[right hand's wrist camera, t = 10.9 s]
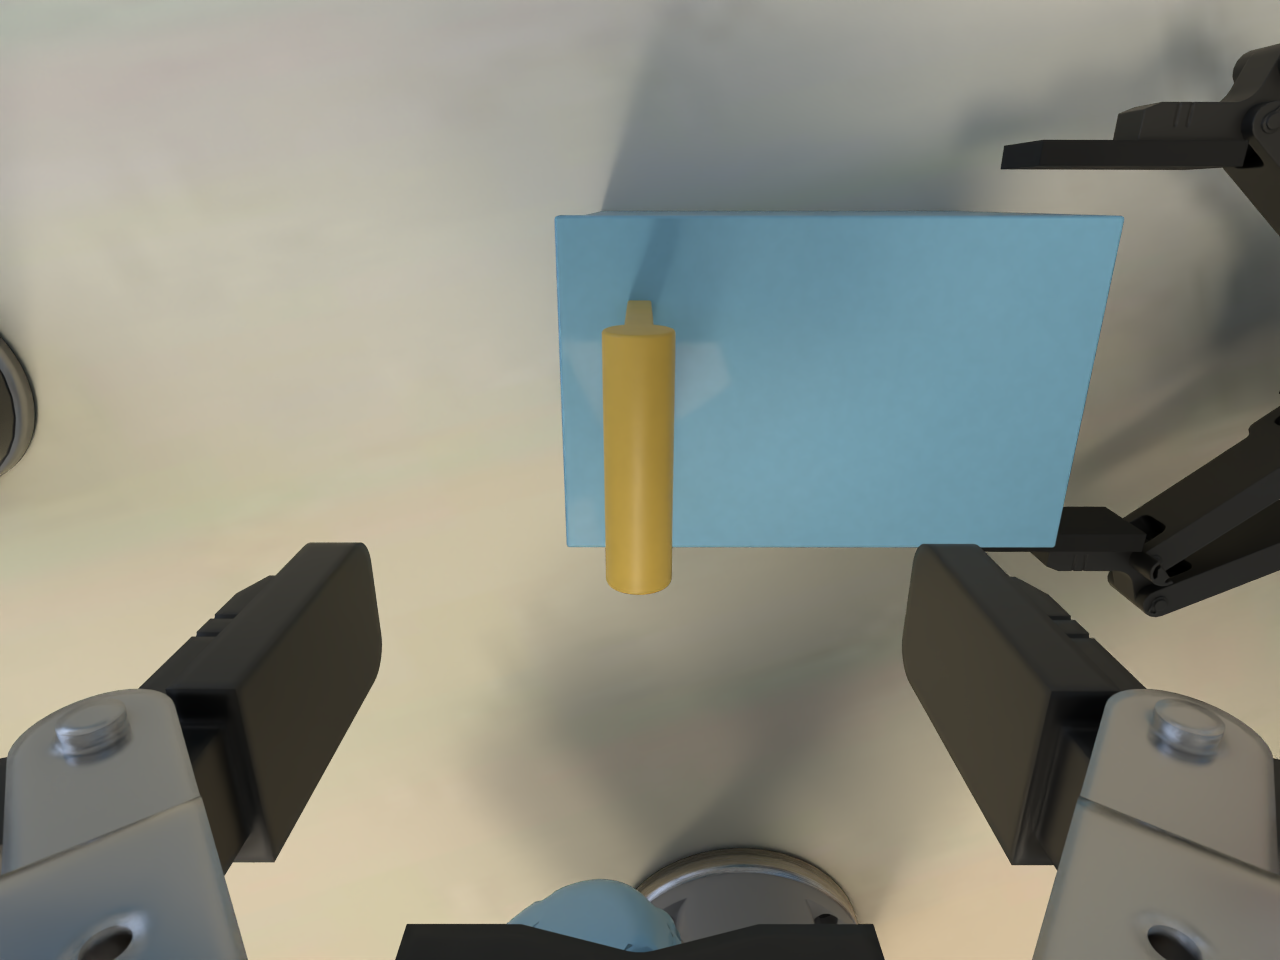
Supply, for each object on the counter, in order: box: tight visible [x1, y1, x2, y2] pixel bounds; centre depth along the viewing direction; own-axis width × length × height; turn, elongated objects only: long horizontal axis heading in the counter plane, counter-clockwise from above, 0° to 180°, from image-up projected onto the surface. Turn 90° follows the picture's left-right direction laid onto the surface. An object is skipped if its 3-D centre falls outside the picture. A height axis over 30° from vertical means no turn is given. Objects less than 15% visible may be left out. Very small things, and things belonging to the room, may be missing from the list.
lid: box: [555, 215, 1124, 595], centre depth 20 cm, size 16×10×8 cm, turn 90°
